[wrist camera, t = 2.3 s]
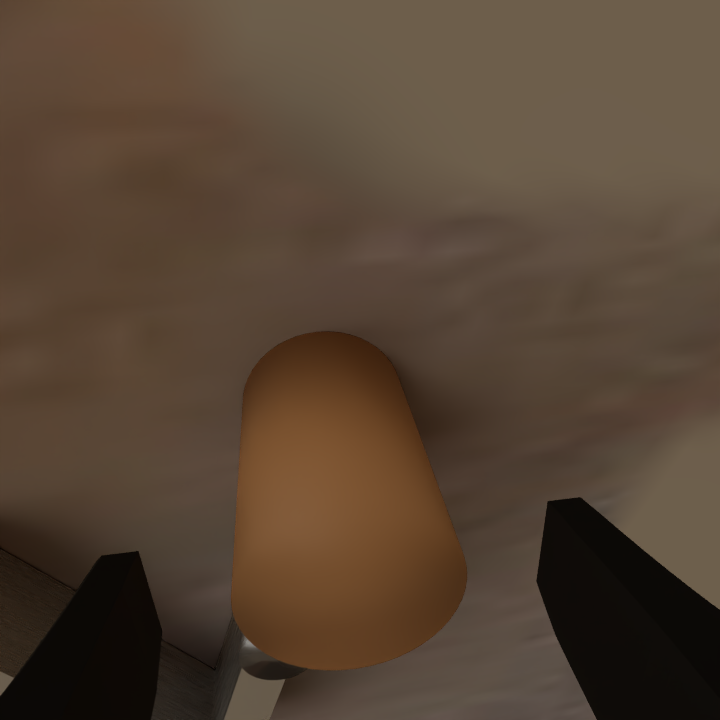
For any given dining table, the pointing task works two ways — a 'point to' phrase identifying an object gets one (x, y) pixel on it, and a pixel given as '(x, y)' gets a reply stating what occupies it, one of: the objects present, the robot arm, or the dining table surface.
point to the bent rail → (176, 669)
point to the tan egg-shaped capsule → (338, 511)
